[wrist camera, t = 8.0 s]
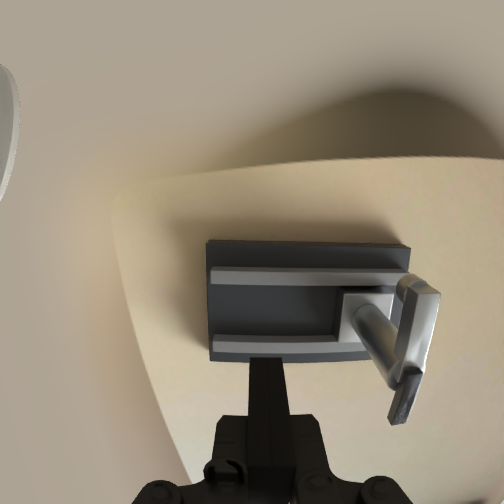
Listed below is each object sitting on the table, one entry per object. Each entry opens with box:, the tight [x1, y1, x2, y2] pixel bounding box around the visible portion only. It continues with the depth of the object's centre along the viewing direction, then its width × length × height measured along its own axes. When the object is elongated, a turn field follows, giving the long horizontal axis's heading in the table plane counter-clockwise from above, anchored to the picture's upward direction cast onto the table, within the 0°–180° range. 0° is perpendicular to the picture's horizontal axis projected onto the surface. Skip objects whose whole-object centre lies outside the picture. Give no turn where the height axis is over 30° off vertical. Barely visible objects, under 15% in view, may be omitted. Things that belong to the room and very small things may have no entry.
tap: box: [333, 274, 441, 425], centre depth 18 cm, size 8×4×10 cm, turn 179°
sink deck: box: [206, 240, 411, 363], centre depth 24 cm, size 10×16×3 cm, turn 89°
